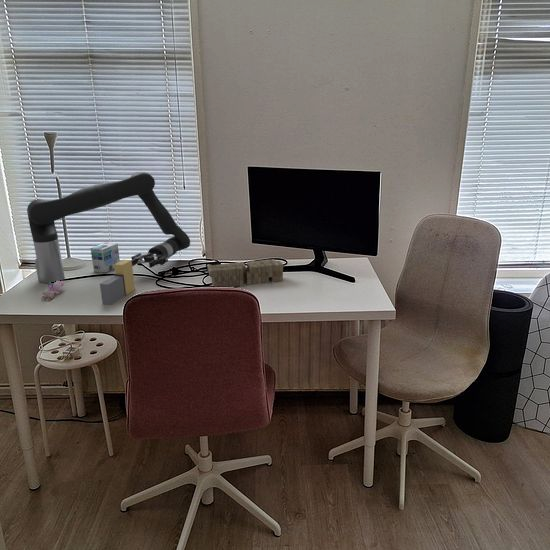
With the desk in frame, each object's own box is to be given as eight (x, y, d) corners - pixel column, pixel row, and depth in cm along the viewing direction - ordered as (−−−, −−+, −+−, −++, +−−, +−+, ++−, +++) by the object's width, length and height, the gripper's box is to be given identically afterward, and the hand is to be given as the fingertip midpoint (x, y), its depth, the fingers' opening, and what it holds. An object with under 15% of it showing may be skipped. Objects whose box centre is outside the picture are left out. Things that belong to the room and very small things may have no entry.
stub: (127, 288, 193) (123, 259, 189) (134, 289, 192) (131, 260, 188) (118, 294, 187) (114, 264, 184) (126, 295, 186) (122, 264, 183)
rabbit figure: (54, 304, 183) (71, 284, 196) (50, 291, 180) (68, 271, 193) (38, 304, 183) (56, 284, 197) (34, 290, 181) (52, 271, 194)
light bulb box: (105, 273, 212) (102, 249, 208) (93, 272, 214) (89, 248, 211) (121, 266, 221) (118, 242, 218) (108, 264, 224) (105, 241, 220)
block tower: (277, 278, 205) (207, 283, 198) (278, 258, 203) (207, 263, 196) (282, 284, 198) (210, 289, 191) (283, 264, 196) (209, 269, 188)
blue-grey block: (117, 295, 187) (114, 274, 185) (126, 295, 186) (123, 274, 184) (102, 304, 179) (99, 282, 176) (111, 305, 178) (108, 283, 175)
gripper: (145, 243, 213) (123, 254, 198) (174, 245, 209) (155, 256, 194) (147, 260, 215) (126, 272, 201) (176, 262, 211) (157, 274, 197)
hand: (140, 264), depth 197 cm, fingers open, 8 cm apart
